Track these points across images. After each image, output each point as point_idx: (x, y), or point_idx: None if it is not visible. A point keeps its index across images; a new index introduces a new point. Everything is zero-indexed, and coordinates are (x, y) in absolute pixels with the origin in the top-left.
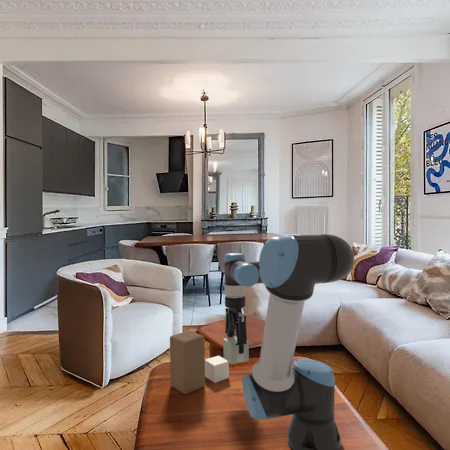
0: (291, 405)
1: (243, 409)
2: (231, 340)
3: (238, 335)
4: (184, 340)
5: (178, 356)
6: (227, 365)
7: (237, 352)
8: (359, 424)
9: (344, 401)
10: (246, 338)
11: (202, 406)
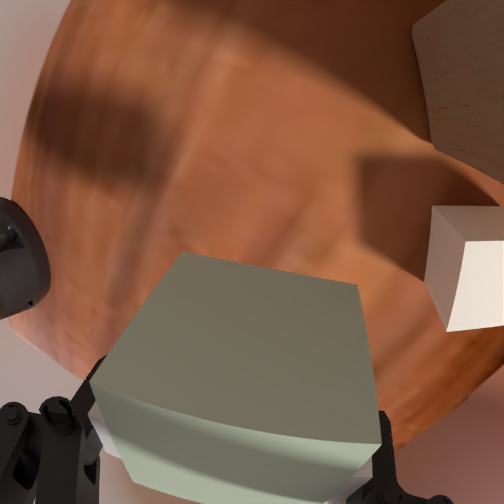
0: None
1: (169, 184)
2: (235, 462)
3: (40, 500)
4: None
5: None
6: (442, 311)
7: None
8: (49, 355)
9: None
10: (13, 471)
11: (277, 42)
